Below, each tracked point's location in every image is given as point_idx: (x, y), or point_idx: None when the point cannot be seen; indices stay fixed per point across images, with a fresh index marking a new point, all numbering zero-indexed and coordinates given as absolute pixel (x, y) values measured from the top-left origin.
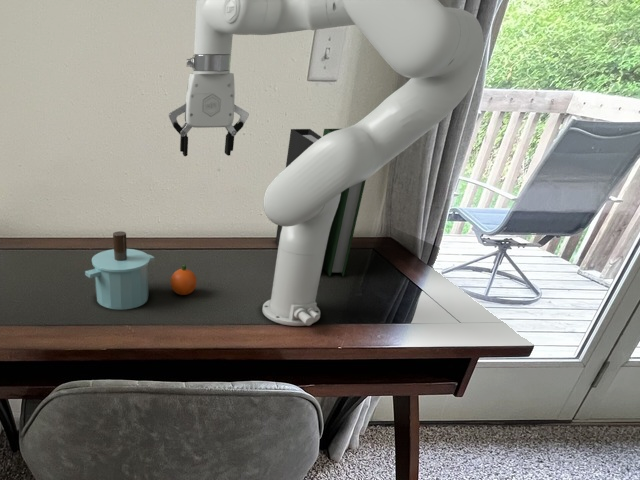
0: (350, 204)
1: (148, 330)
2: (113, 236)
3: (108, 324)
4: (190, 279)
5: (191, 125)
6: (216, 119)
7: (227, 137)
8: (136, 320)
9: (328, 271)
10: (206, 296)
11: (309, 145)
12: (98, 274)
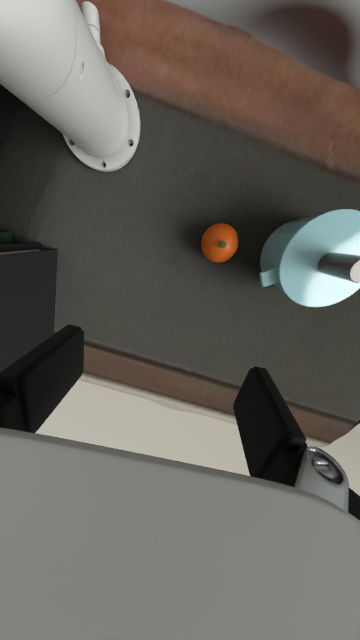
0: None
1: (311, 138)
2: None
3: (349, 179)
4: (217, 226)
5: (347, 513)
6: (33, 549)
7: (33, 396)
8: (310, 179)
9: (9, 240)
10: (191, 224)
11: None
12: None
